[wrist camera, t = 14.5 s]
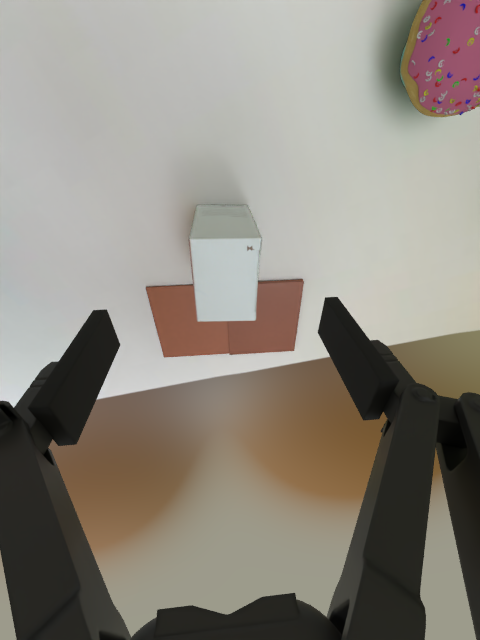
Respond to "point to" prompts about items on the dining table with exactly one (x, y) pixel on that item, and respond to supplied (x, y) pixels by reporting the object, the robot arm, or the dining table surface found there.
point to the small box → (225, 262)
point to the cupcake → (443, 58)
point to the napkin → (227, 322)
